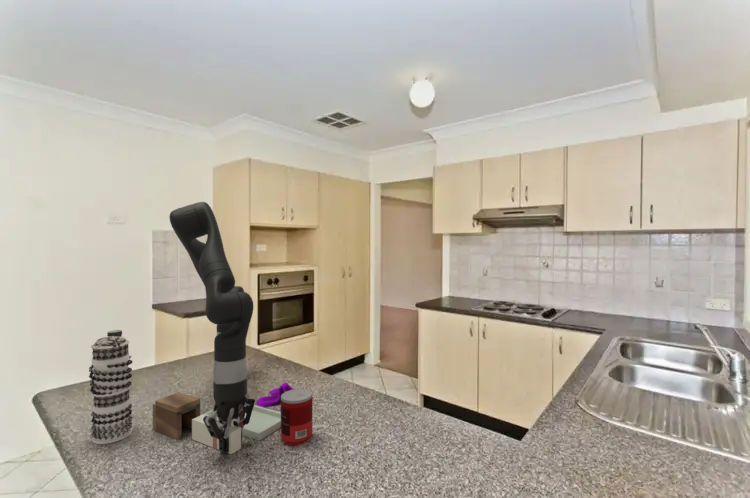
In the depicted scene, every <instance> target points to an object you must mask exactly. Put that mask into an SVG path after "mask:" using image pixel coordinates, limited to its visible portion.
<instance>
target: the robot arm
mask: <svg viewBox="0 0 750 498" xmlns="http://www.w3.org/2000/svg"><path fill="white" fill-rule="evenodd" d="M217 221H218V220H217V219H216V216H215V214H214V211H213V209H212V208H211V205H209V204H208V202H205V201H200V202H195V203H192V204H188V205H185V206H182V207H179V208H176V209H173V210H172V211H171V212H170V214H169V222H170V226H171V228H172V229H173V231H174V233H175V235H176V236H177V238H178V239H179V241H180V243H181V244H182V246H183V247H184V249H185V250H186V252H187V254H188V256H189V258H190V259H191V261H192V262H191V263H192V264H193V266H194V268H195V271H196V272H197V274H198V276H199V278H200V280H201V281H202V283H203V285H204V287H205V288H204V290H205V297H206V299H205V316H206V318H207V320H208V321H209V322H211V323H212V324H213V325H216V335H215V337H214V339H213V341H214V344H213V349H214V351H213V352H214V356H213V357H214V358H213V359H214V360H213V366H212V367H213V369H212V370H213V371H212V375H213V377H212V385H213V387H212V389H213V391H212V392H213V395H212V398H213V400H214V407H213V409H212V410H213V412H212V413H211V414H210V415H209V416H205V417H204V418H203V421H204V423H205V425H206V427H207V429H208V431H209V433H210V435H211V437H214V438H217V439H219V450H218V451H220V453H223V454H225V455H226V454H228V452H229V437H228V435H229V428H230V427H231V424H232V425H235V426H238V427H241V443H242V441H243V435H242V429H243V427H244V425H245V424H246V425H247V424H248V423H249V421H250V417H251V414H252V410H253V407H254V405H255V403H256V399H255V398H252V397H249V396H247V394H248V365H247V364H248V362H247V347H246V346H247V343H246V341H247V335H248V332H249V327H250V323H251V320H252V318H253V313H254V300H253V298H252V296H251V295H250V294H249V293H247V292H246V291H245V290H244V288H243V287H242V286H240V285H237V286H235V285H236V278H235V276H234V274H233V271H232V269H231V266H230V264H229V262H228V260H227V259H228V258H227V255H226V252H225V248H224V244H223V240H222V236H221V232H220V227H219V225H218V222H217ZM203 236H207V238H206V241H205V242H202V241H200V240H198V238H201V237H203ZM245 413H246V417H245ZM217 417H218V421H217ZM244 417H245V418H244ZM223 428H224V431H223Z"/></svg>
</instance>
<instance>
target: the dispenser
mask: <svg viewBox="0 0 750 498" xmlns="http://www.w3.org/2000/svg"><path fill="white" fill-rule="evenodd" d="M154 401H155V402H154V403H153V404H152V430H153V431H154V432H158V433H160V434H162V435H165V436H167V437H170V438H172V439H174V440H180V439H181V438H183V437H182V430H183V429H182V426H184V427H186V428H189V429H191V430H192V419H194V418H196V417H199V416H201V398H200V397H197V396H194V395H189V394H186V393H184V392H180V391H177V392H175V393H173V394H170V395H167V396H165V397H161V398H159V399H156V400H154Z"/></svg>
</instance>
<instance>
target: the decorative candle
mask: <svg viewBox="0 0 750 498" xmlns="http://www.w3.org/2000/svg"><path fill="white" fill-rule="evenodd" d="M129 344H130V341H129V340H127V339H126V338H125V337H124V336H109V337H108V336H103V337H101V338H98V339H97V340H96V341H95V342H94V344H92V345H91V346H90V348H91V349H92V352H91V353H92V354H91V355H92V357H91V366H89V368H88V372H89V375H88V378H89V379H90V381H89V383H90V384H89V386H90V389H89V392H90V395H91V396H92V397H93V399H92V400H93V405H92V412H91V414H90V415H91V417H92V418H91V420H90V421H91V422H92V425H91V426H90V429H91V431H92V432H91V436H92V440H91V441H92V442H93V443H94V444H95V445H96V444H97V445H107V444H111V443H116V442H119V441H121V440H123V439H125V438H127V437H129V436H130V435H131V434H132V432H133V428H132V427H133V422H132V421H133V416H131V415H132V412H133V411H132V407H133V404H132V403H131V397H130V389H131V387H132V381H130V380H129V379H131V378H132V377H133V374H132V373H131V372H132V371H133V369H132V367H129V366H130V365H132V364H133V360H131V358H132V355H130V352H129Z"/></svg>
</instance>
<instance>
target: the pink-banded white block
mask: <svg viewBox="0 0 750 498" xmlns="http://www.w3.org/2000/svg"><path fill="white" fill-rule="evenodd" d="M204 417H205V415H202V414H200V416H199V417H196V418H194V419H192V429H191V439H192V440H193V441H195V442H197V443H198V442H199V443H201V444H204V445H206V446H208V447H210V448H212V449H216V450H218V451H220V450H219V439H217V438H214V437H211V435H210V433H209V431H208V429H207V427H206V425H205V423H204V421H203V418H204ZM217 421H218V420H217ZM223 431H224V428H223ZM228 437H229V452H228V453H227V454H229V455H232V454H234V453H235V452H237V451H239V450H240V449H242V442H241V427H238V426H235V425H232V424H231V427H230V428H229V435H228Z"/></svg>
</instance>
